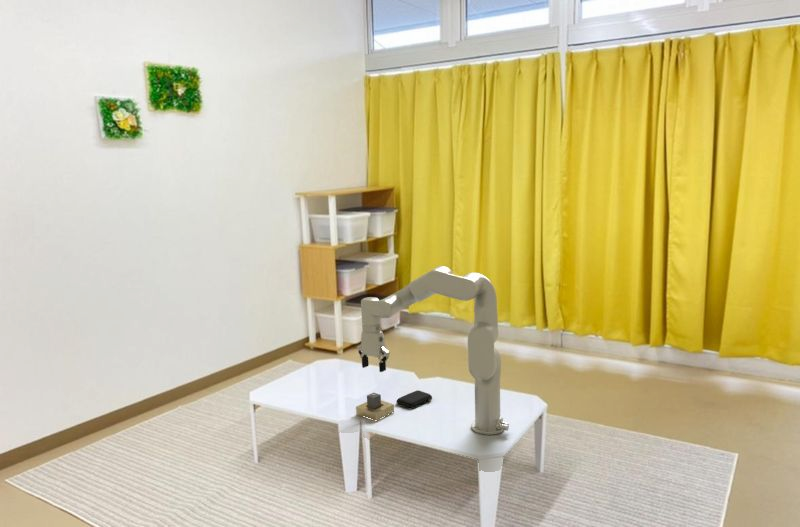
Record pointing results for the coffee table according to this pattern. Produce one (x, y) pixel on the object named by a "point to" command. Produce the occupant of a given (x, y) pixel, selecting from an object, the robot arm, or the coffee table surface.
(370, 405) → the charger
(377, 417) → the socket plate
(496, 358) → the robot arm
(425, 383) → the coffee table surface
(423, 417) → the coffee table surface
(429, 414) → the coffee table surface
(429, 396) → the carrying case or bag
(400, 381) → the coffee table surface
